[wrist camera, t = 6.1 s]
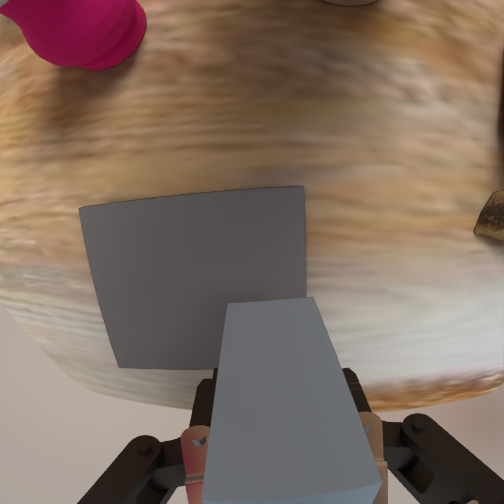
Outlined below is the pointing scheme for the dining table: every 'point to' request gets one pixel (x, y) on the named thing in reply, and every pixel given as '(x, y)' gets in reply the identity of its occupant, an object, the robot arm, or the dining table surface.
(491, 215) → the rock
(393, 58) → the dining table surface
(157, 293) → the mat
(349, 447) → the block
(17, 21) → the pepper mill
